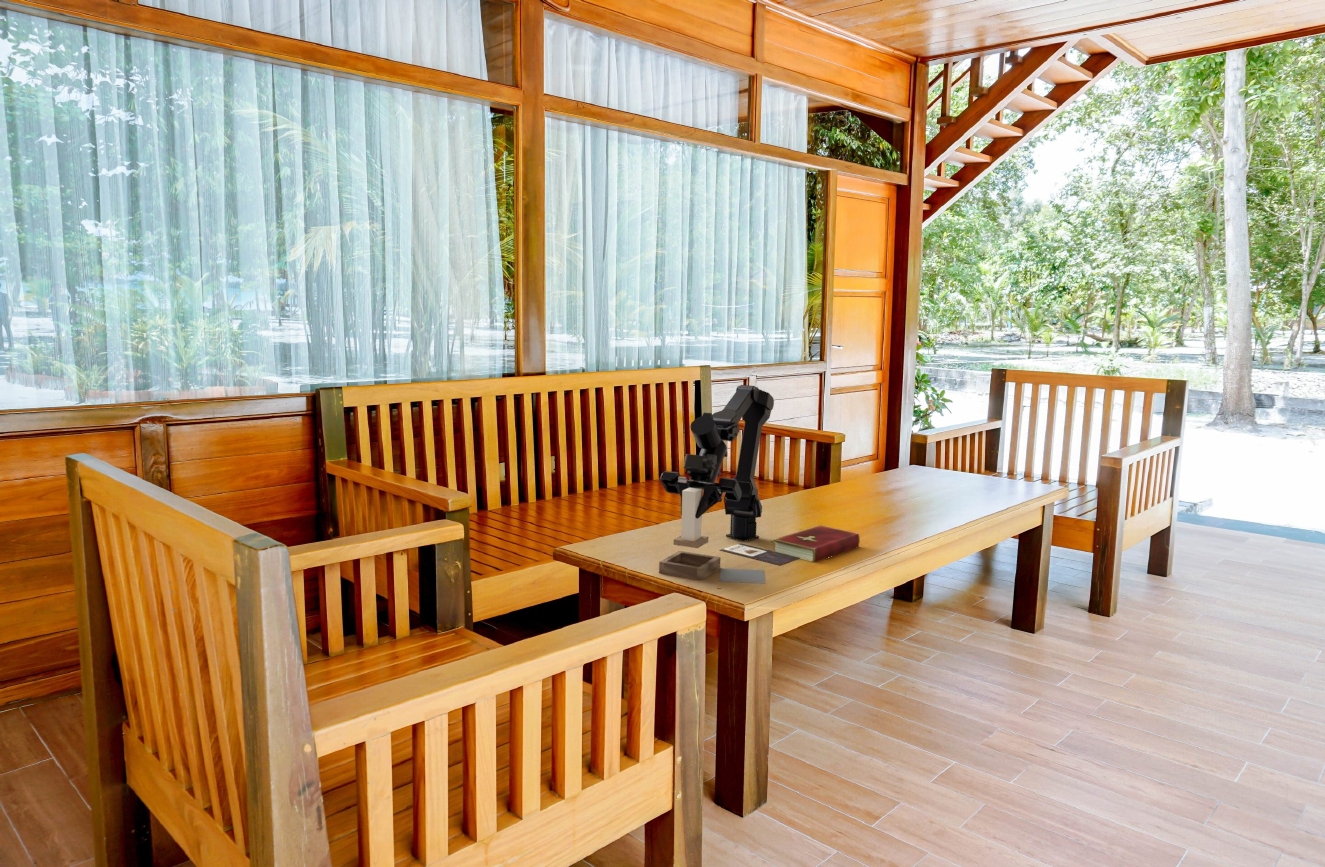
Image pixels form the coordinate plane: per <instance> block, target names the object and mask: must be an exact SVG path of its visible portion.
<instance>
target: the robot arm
mask: <svg viewBox="0 0 1325 867" xmlns="http://www.w3.org/2000/svg"><path fill="white" fill-rule="evenodd" d="M774 399H775V398H774V397H773V396H772V395H771V394H770V392H768V391H765V390H762V389H760V388H759V387H758V386H755V385H749V384H748V385H746V384H740V385H737V387H736V390H735V393H734V394H733V395H732V396H731V398H730V400H729V401H728V402H727V404H726V405H725V406H724V408H723V409H722V410H719V411H716V412H714V413H713V414H712V412H703V413H702V415H701V416H699V417H696V418H695V419H694V420H693V421H691V423H690V426H689V428H690V431H691V433H692V435H693V437H694V441H695V442H696V444H697V446H698V448H700V452H699V454H691V453H686V454H685V457H684V461H683V462H684V463H683V467H682V468H683V469H686V470H687V473H686V475H687V476H688V477H690V478H688V477H686V476H681V474H680V472H677V471H669V470H665V471H662V473H661V475H660V478H659V481H660V483H661V485H662V486H663V488H664V491H665V493H668V494H674V495H679V497H680V516H682V491H683V490H685V489H687V488H698V489H702V491H703V492H702V499H701V501H700V504H699V506H698V509H697V511H696V515H695V517H696V518H697V519H698V518H699V517H700V516H701V515H702V516H703V515H704V514H705V513H706V512H707V511H708V510H709V509H711V508H713V507H714V506H715V505H716V504H717V503H722V502H724V503H723V504H724V512H725V515H730V528H729V530H730V532H729V533H727V534H725V537H726V538H730V539H733V540H736V541H740V542H747V541H752V540H756V539H759V538H760V536H759V535H757V518H762V512H763V505H762V503H761V500H760V498H759V488H758V487H757V484H756V482H755V473H756V467H757V461H758V455H759V448H760V443H761V436H762V430H763V426H764V425H765V424H766V423H767V422H768V420H769V419H770V418H771V414H772V410H773V409H774V406H775V400H774ZM742 419H743V422H744V425H743V430H742V435H741V436H742V437H741V441H740V442H741V443H740V449H739V450H740V451H739V456H738V463H737V469H736V474H735V476H734V477H733V478H730V477H724V476H722V477H720V476H721V474H722V472H721V467H722V464H723V461H724V458H727V457H728V451H727V450H728V447H727V445H726V442H734V441H735V439H736V438H737V437H738V435H739V433H740V427H739V426H740V425H739V423H740V421H741V420H742ZM717 477H720V478H719V481H718V482H716V481H717ZM723 495H724V496H723ZM722 497H723V499H722Z"/></svg>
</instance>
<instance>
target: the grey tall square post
mask: <svg viewBox="0 0 1325 867" xmlns="http://www.w3.org/2000/svg"><path fill="white" fill-rule="evenodd" d="M702 496H703V490H702V489H698V488H687V489H685V490H683V491H682V515H681V524H680V525H681V529H680V530H681V531H680V534H681V535H679V536H677V537H676V538H674V539H673V545H674V546H680V547H686V548H687V547H688V548H693V549H699V548H700V547H702V546H704V545H706V544H707V543H709V536H704V535H702V520H703V519H702V518H703V515H701V516H700V517H699V518H698V519H697V518H696V517H695V515H696V511H697V509H698V506H699V504H700V501H701V499H702Z"/></svg>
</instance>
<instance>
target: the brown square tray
mask: <svg viewBox="0 0 1325 867" xmlns="http://www.w3.org/2000/svg"><path fill="white" fill-rule="evenodd" d="M720 569H721V557H720V556H714V555H707V554H701V553H695V552H688V551H681V550H677V551H676V552H675V553H673V554H670V556H667V557H666V558H664V559H662V560H660V561H659V564H658V573H659V574H663V575H668V576H675V577H681V578H688V579H692V580H699V581H702V580H704V579H706V578H707V577H709V576H711V575H712V574H713V573H714V572H716V571H718V570H720Z"/></svg>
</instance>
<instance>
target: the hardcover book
mask: <svg viewBox="0 0 1325 867" xmlns="http://www.w3.org/2000/svg"><path fill="white" fill-rule="evenodd" d="M860 538H861V537H860V534H859V533H858V532H853V531H848V530H845V529H844V530H843V529H841V528H840V529H839V528H834V527H830V526H826V525H821V524H819V525H816V526H813V527H809V528H806V529H803V530H799V531H797V532H793V533H790V534H788V535H784V536H780V537H778V538H774V539H773V542H775V550H774V551H775V552H778V553H782V554H786V555H790V556H794V557H798V558H800V559H801V560H805V561H808V562H809V561H810V562H812V563H815V562H818V561H821V560H824V559H825V560H827V559H829V558H828V557H830V558H832V557H831V556H833V557H835V556H837V555H840V554H843V552H844V553H846V551H847V552H849V551H851V549H852V550H854V548H855V549H857V548H856V547H858V548H859V547H860V543H861V542H860V541H861V539H860ZM848 550H849V551H848ZM834 555H835V556H834ZM826 558H827V559H826Z"/></svg>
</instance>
